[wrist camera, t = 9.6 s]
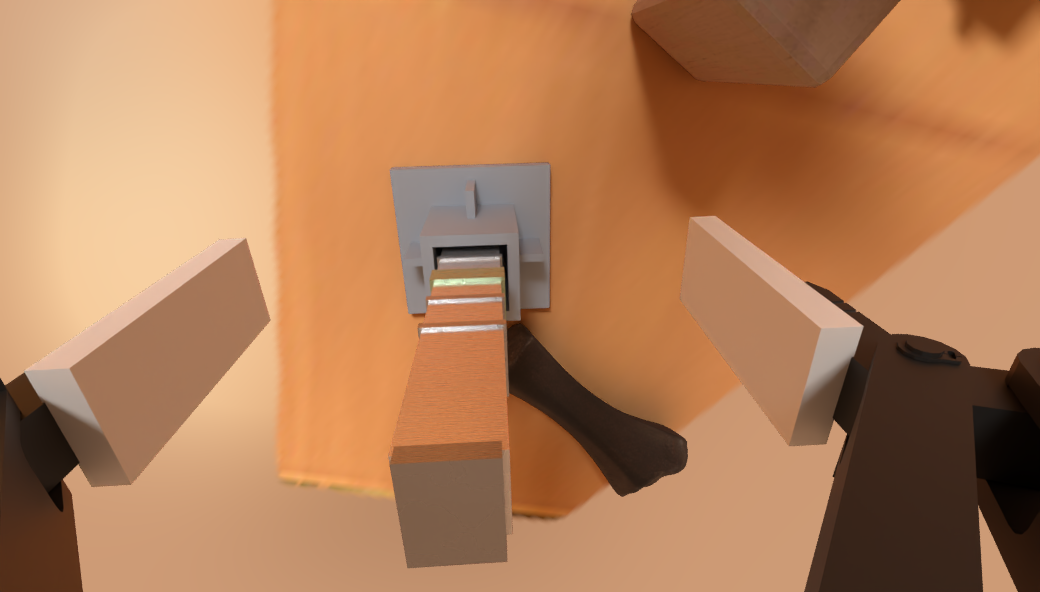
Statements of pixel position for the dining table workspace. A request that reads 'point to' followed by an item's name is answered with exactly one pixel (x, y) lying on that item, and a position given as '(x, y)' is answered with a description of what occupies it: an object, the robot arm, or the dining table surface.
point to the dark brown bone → (593, 418)
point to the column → (457, 419)
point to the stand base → (476, 225)
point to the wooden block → (761, 36)
